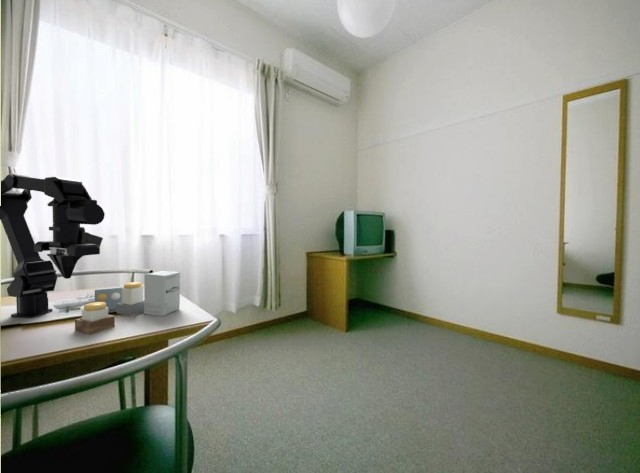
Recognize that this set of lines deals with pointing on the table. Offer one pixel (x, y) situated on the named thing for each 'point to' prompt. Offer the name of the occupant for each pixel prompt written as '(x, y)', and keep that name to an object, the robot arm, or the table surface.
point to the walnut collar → (94, 325)
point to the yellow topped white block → (132, 293)
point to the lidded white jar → (94, 311)
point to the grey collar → (130, 308)
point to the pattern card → (109, 297)
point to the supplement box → (161, 292)
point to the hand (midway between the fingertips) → (67, 278)
